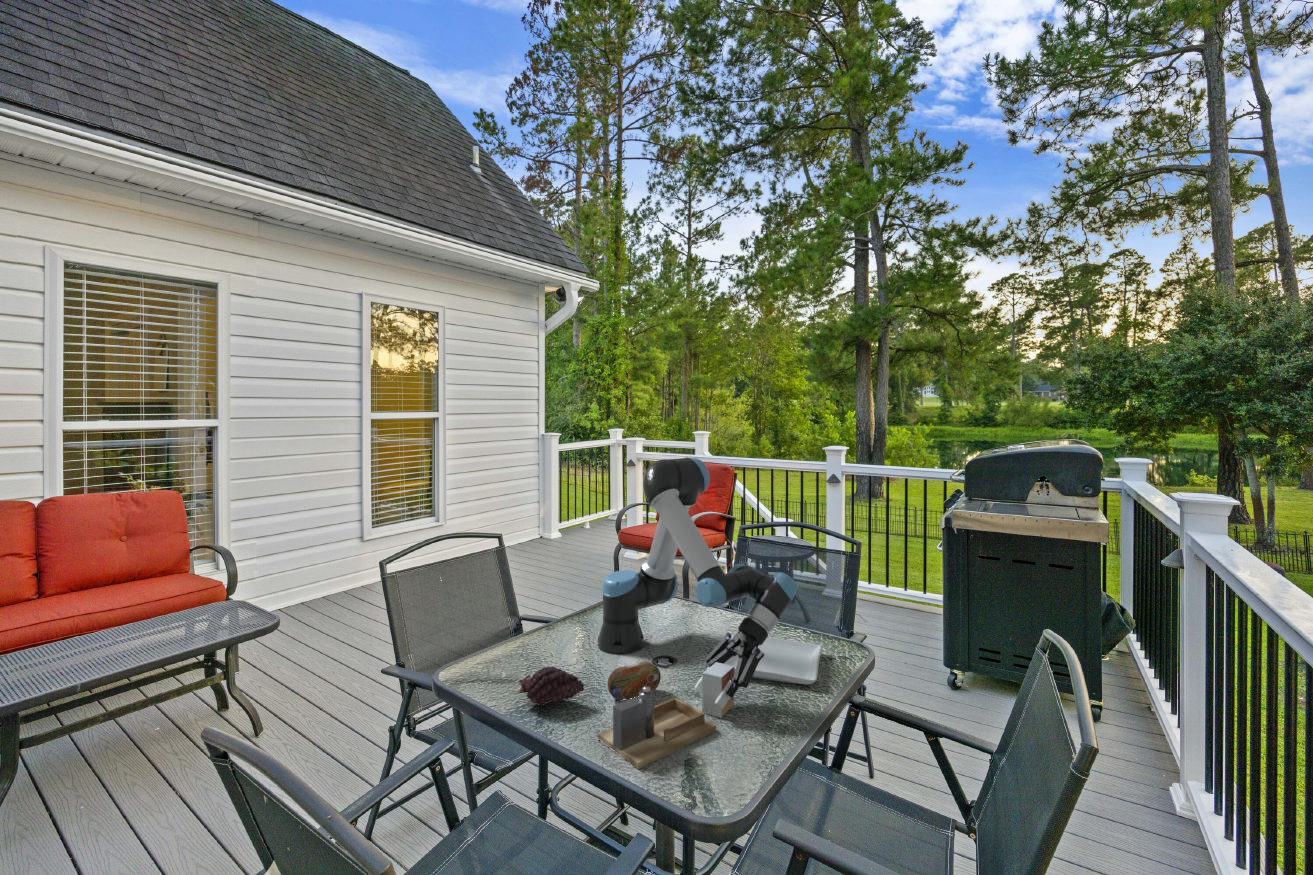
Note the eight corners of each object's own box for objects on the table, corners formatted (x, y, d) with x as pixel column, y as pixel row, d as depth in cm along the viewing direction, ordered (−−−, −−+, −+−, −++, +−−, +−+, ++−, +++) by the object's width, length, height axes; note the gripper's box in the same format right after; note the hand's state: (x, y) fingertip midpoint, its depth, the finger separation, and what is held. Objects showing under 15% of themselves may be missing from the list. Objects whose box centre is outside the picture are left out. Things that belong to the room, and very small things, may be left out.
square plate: (816, 693, 164) (816, 679, 164) (718, 678, 173) (718, 665, 173) (822, 654, 190) (822, 642, 190) (737, 643, 199) (737, 632, 199)
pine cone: (587, 696, 161) (587, 660, 161) (579, 715, 151) (579, 677, 151) (523, 694, 163) (522, 658, 162) (511, 712, 153) (510, 674, 152)
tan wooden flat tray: (598, 740, 140) (598, 723, 140) (674, 707, 156) (674, 692, 156) (637, 769, 129) (637, 751, 129) (716, 730, 144) (716, 714, 144)
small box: (721, 718, 150) (721, 677, 149) (701, 712, 153) (701, 672, 152) (734, 705, 157) (735, 665, 156) (715, 699, 160) (715, 661, 159)
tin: (610, 704, 158) (610, 672, 157) (605, 699, 160) (605, 668, 160) (661, 691, 164) (661, 661, 164) (655, 687, 167) (655, 657, 167)
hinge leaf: (612, 744, 136) (612, 695, 135) (647, 728, 143) (647, 682, 142) (622, 751, 133) (621, 701, 133) (657, 734, 140) (657, 687, 139)
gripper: (792, 646, 153) (742, 724, 145) (740, 620, 171) (693, 688, 164) (776, 629, 150) (724, 708, 142) (725, 605, 168) (676, 674, 161)
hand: (707, 697), depth 153 cm, fingers closed on small box, 8 cm apart
